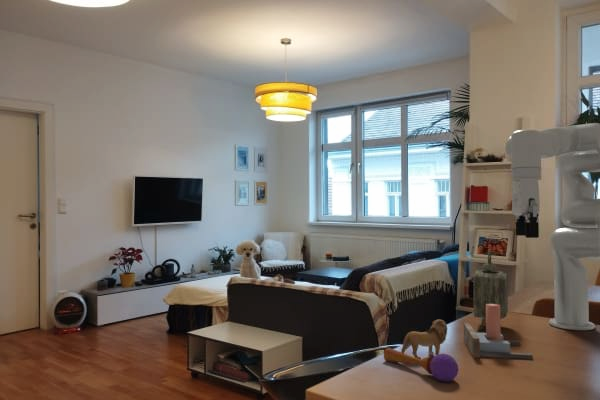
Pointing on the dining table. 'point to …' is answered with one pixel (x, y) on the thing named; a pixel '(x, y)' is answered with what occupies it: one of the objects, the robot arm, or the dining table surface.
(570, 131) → the robot arm
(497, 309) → the dowel
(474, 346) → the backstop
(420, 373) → the dining table surface
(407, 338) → the lion figurine
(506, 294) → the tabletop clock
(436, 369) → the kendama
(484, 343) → the block
